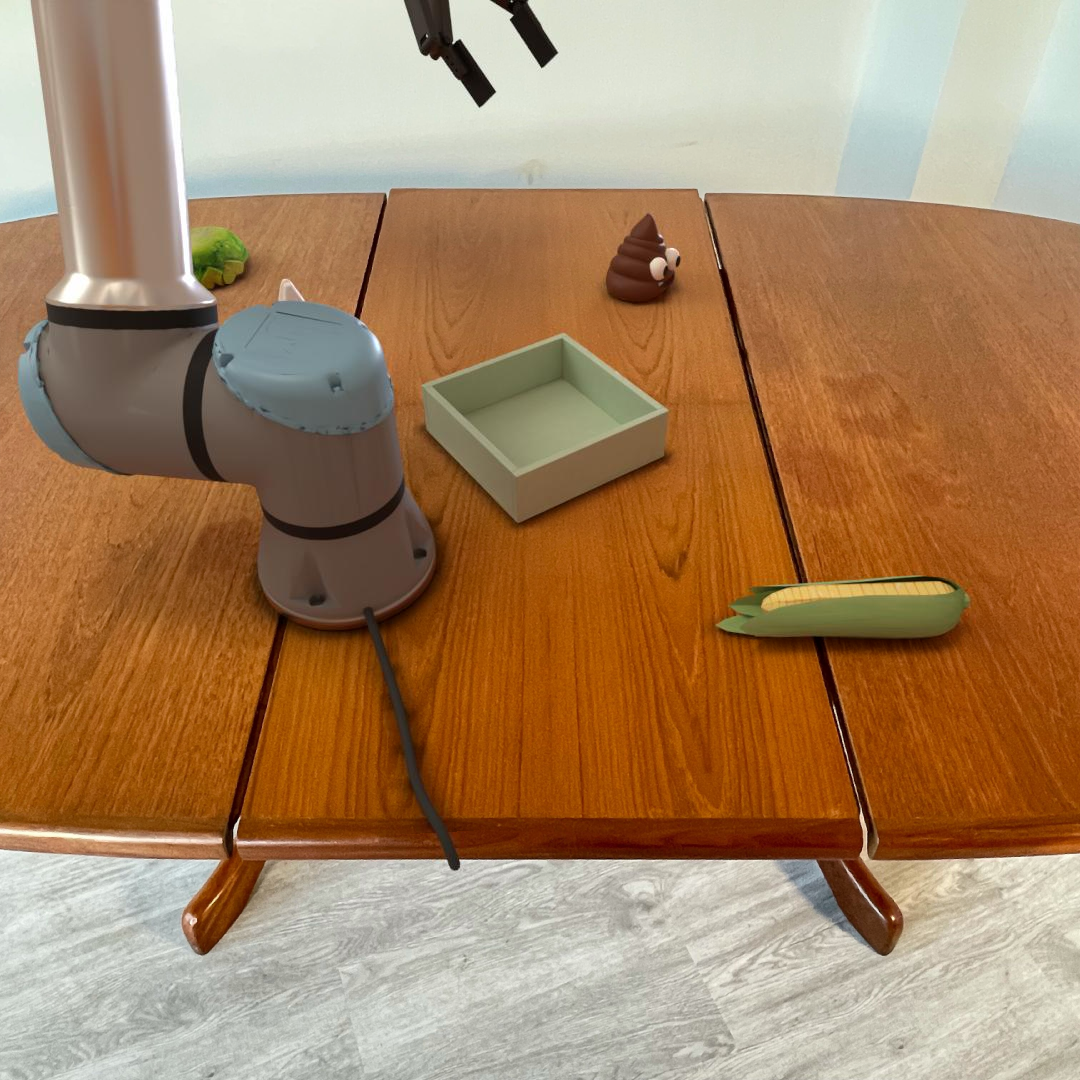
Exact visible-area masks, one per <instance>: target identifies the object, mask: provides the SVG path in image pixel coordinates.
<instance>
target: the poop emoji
mask: <svg viewBox="0 0 1080 1080" xmlns="http://www.w3.org/2000/svg"><path fill="white" fill-rule="evenodd" d="M656 223H657V222H656V220H655V218H654V216H653V214H652V213H650V212H647V213H646V214H645V215H644V216H643V217H642V218H641V219H640V220H639V221H638V222H637V223H636V224H635V225H633V227H632V228H631V230H630V232H629V233H630V234H628V235H625V236H624V239H623V242H621V243H620V244H619V245H618V246H617V251H616V253H617V254H615V255H614V256H613V257H612V258H611V260H610V262H609V266H608V269H607V271H606V274H605V285H606V288H607V290H608V293H610V294H611V295H612V296H614V297H615V298H617V299H619V300H623V301H625V302H632V303H644V302H649V301H651V300H654V299H656V298H657V297H659V296H660V295H661V294H663V292H664V291H665V290H666V289H669V288H670V287H671V286H672V285H673V283H674V282H675V279H676V269H677V268H678V267H679V266H680V264H681V254H680V252H679V251H678V250H677V249H676V248H674V247H669V248H667V246H666V243H665V242H664V237H663V236H662V235H661V234H660V233H659V231H658V227H657V226H658V225H657V224H656Z"/></svg>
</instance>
